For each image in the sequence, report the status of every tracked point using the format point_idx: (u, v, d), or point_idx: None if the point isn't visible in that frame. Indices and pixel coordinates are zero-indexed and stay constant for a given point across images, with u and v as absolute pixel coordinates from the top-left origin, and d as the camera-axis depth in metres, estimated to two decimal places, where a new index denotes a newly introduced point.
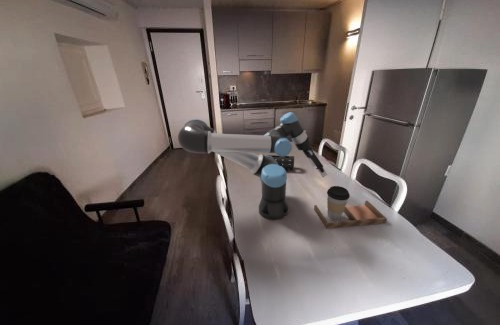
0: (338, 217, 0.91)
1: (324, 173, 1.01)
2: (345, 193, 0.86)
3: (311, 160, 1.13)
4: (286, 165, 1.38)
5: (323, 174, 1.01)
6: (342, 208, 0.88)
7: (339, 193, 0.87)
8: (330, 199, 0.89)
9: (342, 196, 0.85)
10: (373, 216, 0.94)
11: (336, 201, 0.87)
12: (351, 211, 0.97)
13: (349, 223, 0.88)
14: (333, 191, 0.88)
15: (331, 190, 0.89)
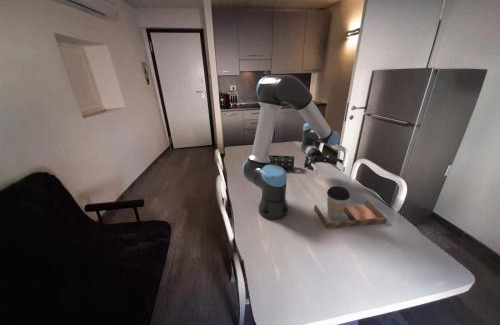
0: (338, 217, 0.91)
1: None
2: (345, 193, 0.86)
3: None
4: (286, 165, 1.38)
5: None
6: (342, 208, 0.88)
7: (339, 193, 0.87)
8: (330, 199, 0.89)
9: (342, 196, 0.85)
10: (373, 216, 0.94)
11: (336, 201, 0.87)
12: (351, 211, 0.97)
13: (349, 223, 0.88)
14: (333, 191, 0.88)
15: (331, 190, 0.89)
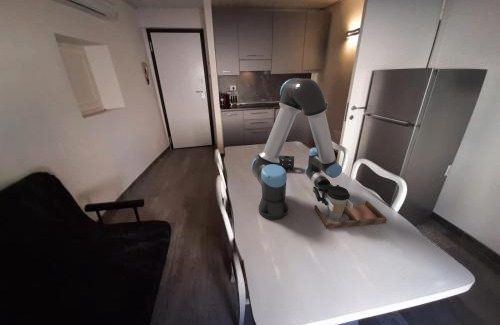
0: (338, 217, 0.91)
1: None
2: (345, 193, 0.86)
3: None
4: (286, 165, 1.38)
5: None
6: (342, 208, 0.88)
7: (339, 193, 0.87)
8: (330, 199, 0.89)
9: (342, 196, 0.85)
10: (373, 216, 0.94)
11: (336, 201, 0.87)
12: (351, 211, 0.97)
13: (349, 223, 0.88)
14: (333, 191, 0.88)
15: (331, 190, 0.89)
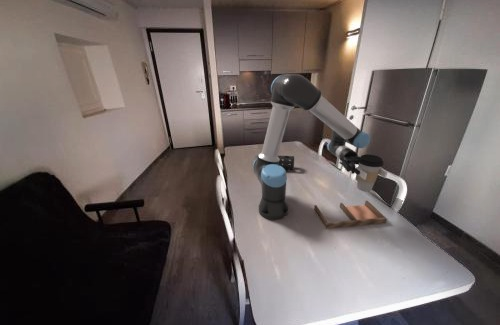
0: (370, 187, 0.86)
1: None
2: (379, 160, 0.81)
3: None
4: (286, 165, 1.38)
5: None
6: (375, 177, 0.83)
7: (372, 160, 0.81)
8: (361, 168, 0.84)
9: (376, 163, 0.80)
10: (373, 216, 0.94)
11: (369, 169, 0.81)
12: (351, 211, 0.97)
13: (349, 223, 0.88)
14: (365, 158, 0.83)
15: (363, 158, 0.83)
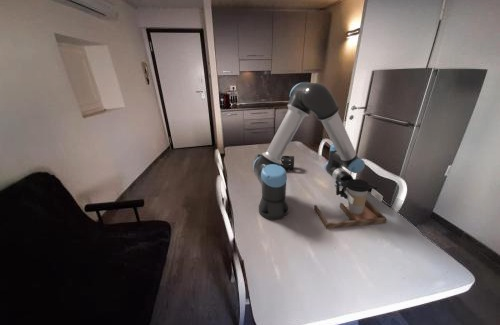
0: (360, 210, 0.92)
1: None
2: (365, 185, 0.88)
3: None
4: (286, 165, 1.38)
5: None
6: (363, 200, 0.89)
7: (359, 185, 0.88)
8: (350, 192, 0.90)
9: (363, 187, 0.86)
10: (373, 216, 0.94)
11: (357, 193, 0.88)
12: None
13: (349, 223, 0.88)
14: (353, 184, 0.90)
15: (351, 183, 0.90)
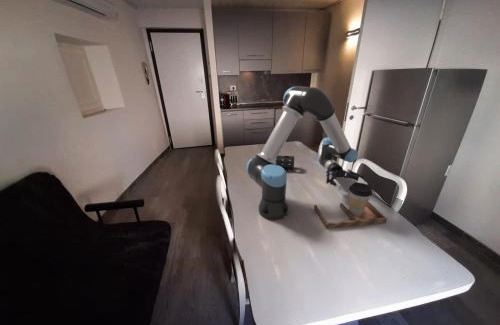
0: (360, 213, 0.93)
1: None
2: (368, 189, 0.88)
3: None
4: (286, 165, 1.38)
5: None
6: (365, 204, 0.90)
7: (362, 190, 0.88)
8: (352, 196, 0.90)
9: (366, 192, 0.86)
10: (373, 216, 0.94)
11: (360, 198, 0.88)
12: None
13: (349, 223, 0.88)
14: (356, 188, 0.89)
15: (354, 187, 0.90)
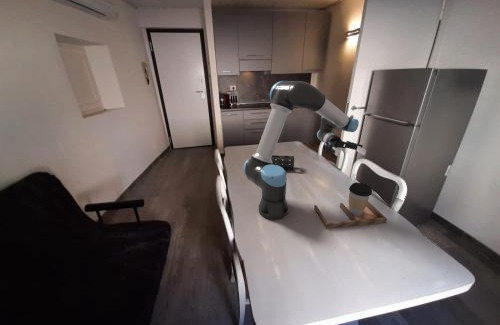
0: (360, 213, 0.93)
1: None
2: (368, 189, 0.88)
3: None
4: (286, 165, 1.38)
5: None
6: (365, 204, 0.90)
7: (362, 189, 0.88)
8: (352, 196, 0.90)
9: (366, 192, 0.86)
10: (373, 216, 0.94)
11: (360, 197, 0.88)
12: None
13: (349, 223, 0.88)
14: (356, 188, 0.89)
15: (354, 187, 0.90)
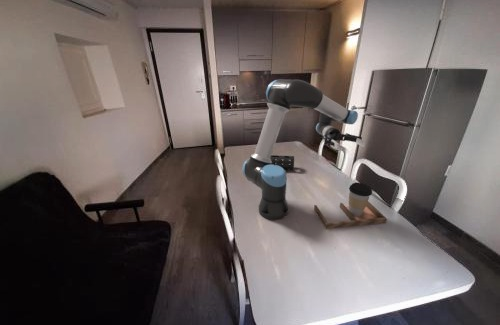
0: (360, 213, 0.93)
1: None
2: (368, 189, 0.88)
3: None
4: (286, 165, 1.38)
5: None
6: (365, 204, 0.90)
7: (362, 189, 0.88)
8: (352, 196, 0.90)
9: (366, 192, 0.87)
10: (373, 216, 0.94)
11: (360, 197, 0.88)
12: None
13: (349, 223, 0.88)
14: (356, 187, 0.89)
15: (354, 186, 0.90)
